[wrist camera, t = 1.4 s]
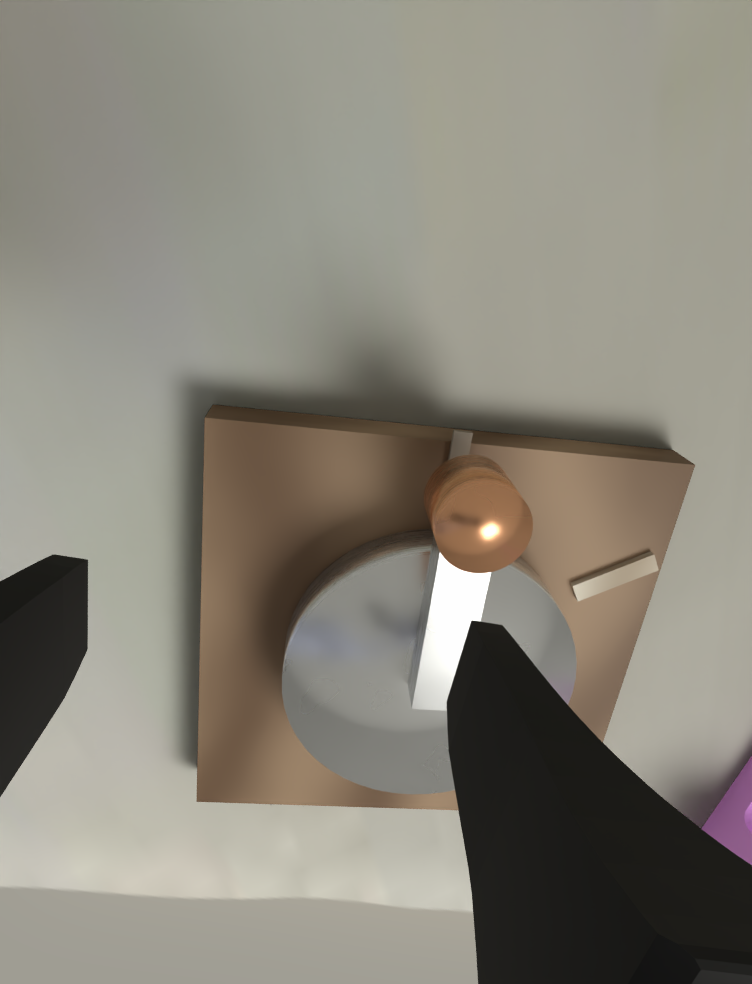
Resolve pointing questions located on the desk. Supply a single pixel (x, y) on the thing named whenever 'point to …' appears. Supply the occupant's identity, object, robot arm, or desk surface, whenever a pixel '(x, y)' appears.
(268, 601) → the dial plate
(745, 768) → the bracket
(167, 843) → the desk surface
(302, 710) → the dial
